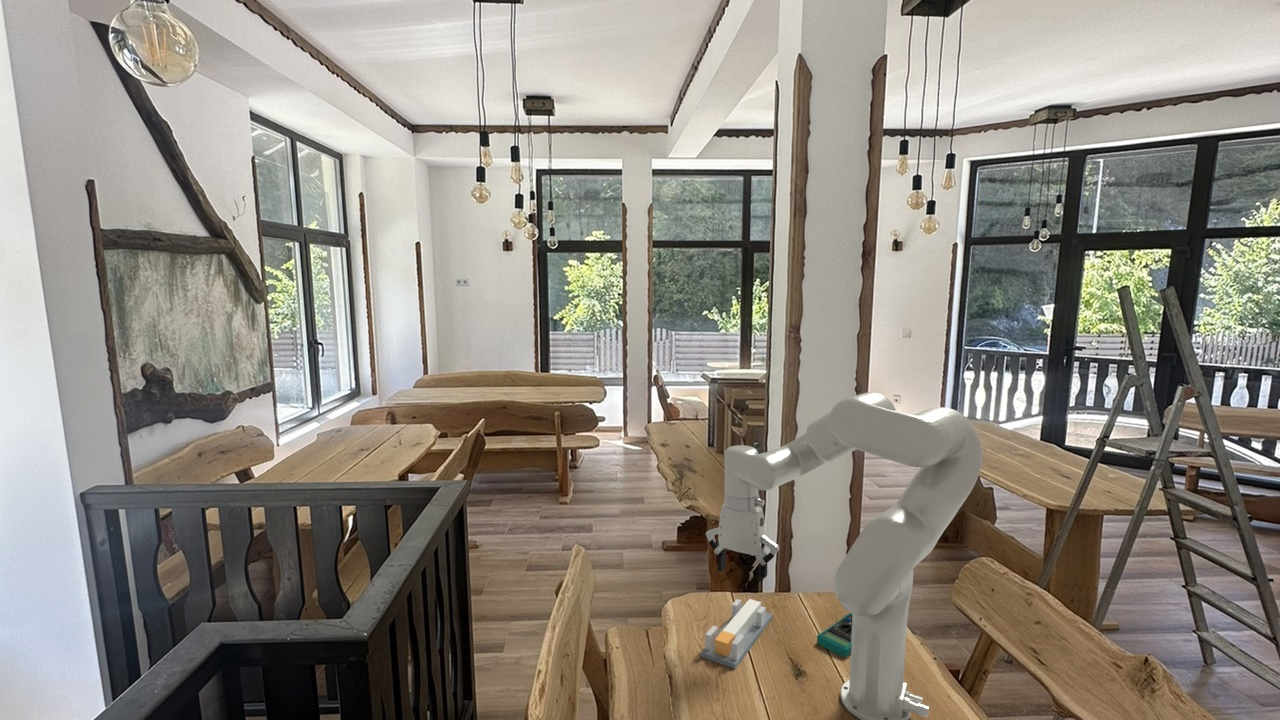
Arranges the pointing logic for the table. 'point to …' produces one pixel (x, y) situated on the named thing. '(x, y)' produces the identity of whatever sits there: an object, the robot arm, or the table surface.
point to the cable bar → (737, 627)
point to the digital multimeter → (838, 637)
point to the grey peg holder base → (741, 642)
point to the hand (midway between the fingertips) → (741, 574)
